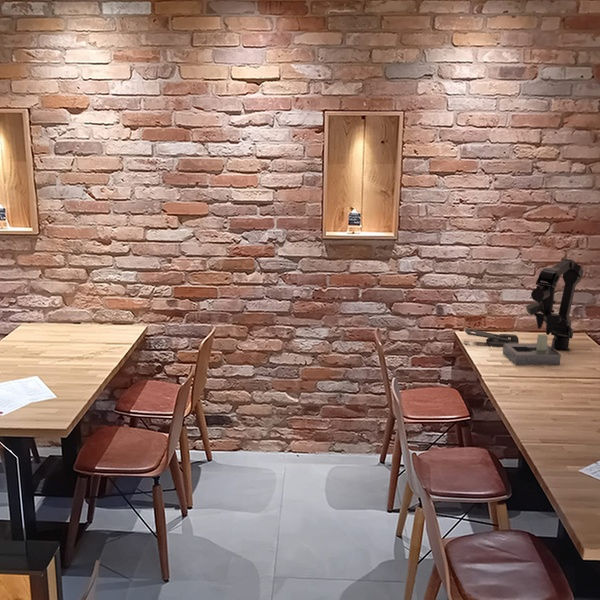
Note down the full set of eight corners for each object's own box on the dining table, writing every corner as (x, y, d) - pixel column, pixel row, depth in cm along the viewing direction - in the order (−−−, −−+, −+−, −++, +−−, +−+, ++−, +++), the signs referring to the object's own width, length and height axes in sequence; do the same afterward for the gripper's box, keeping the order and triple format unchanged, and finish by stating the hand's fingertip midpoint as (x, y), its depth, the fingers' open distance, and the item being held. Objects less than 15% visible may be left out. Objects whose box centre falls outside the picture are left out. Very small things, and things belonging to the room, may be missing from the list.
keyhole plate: (544, 353, 332) (546, 343, 331) (559, 364, 317) (561, 354, 316) (502, 353, 331) (503, 343, 329) (515, 365, 315) (516, 355, 314)
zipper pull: (464, 327, 347) (517, 330, 345) (463, 340, 349) (516, 343, 346) (466, 332, 338) (521, 335, 336) (465, 346, 340) (519, 349, 338)
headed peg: (543, 354, 327) (546, 333, 324) (548, 358, 322) (551, 337, 319) (532, 354, 326) (534, 333, 324) (537, 358, 321) (539, 337, 319)
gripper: (521, 292, 325) (517, 325, 329) (537, 303, 307) (534, 338, 311) (545, 292, 326) (541, 325, 330) (563, 303, 308) (559, 338, 312)
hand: (543, 331), depth 321 cm, fingers open, 9 cm apart
